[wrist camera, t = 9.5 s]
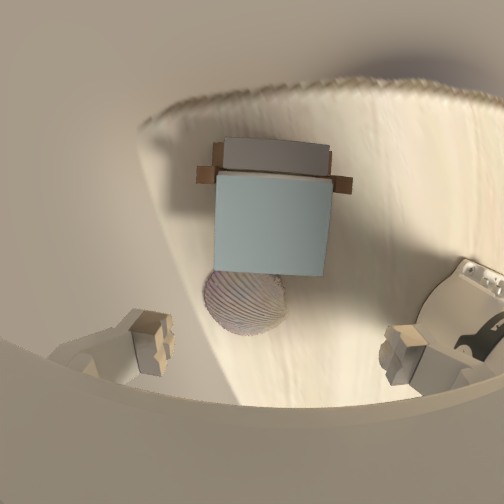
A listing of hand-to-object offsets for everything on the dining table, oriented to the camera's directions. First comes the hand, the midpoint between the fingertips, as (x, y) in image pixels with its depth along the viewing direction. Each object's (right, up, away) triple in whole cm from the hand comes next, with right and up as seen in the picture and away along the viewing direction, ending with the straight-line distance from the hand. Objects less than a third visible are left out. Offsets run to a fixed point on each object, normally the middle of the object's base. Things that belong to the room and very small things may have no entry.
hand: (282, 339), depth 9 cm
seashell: (-2, -2, +24) cm, 24 cm away
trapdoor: (+1, +8, +17) cm, 19 cm away
